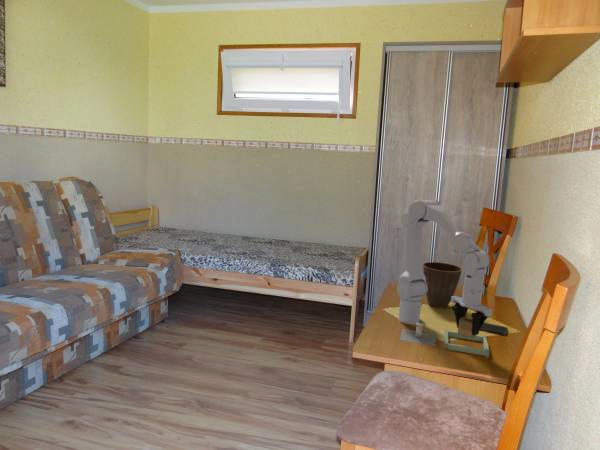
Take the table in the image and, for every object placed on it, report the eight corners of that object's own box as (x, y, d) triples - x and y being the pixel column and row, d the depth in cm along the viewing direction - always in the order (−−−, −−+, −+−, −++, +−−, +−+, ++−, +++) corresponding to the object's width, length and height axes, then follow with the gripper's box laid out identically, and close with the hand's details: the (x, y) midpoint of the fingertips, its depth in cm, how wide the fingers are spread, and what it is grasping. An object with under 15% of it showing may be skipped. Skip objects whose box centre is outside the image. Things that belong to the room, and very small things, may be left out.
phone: (506, 333, 168) (460, 324, 175) (505, 337, 168) (460, 327, 175) (507, 327, 175) (464, 318, 182) (507, 330, 175) (464, 321, 182)
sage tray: (444, 337, 163) (445, 330, 162) (484, 343, 160) (485, 336, 159) (444, 351, 151) (445, 343, 150) (488, 358, 148) (489, 350, 147)
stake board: (402, 331, 166) (403, 316, 165) (435, 336, 163) (437, 321, 162) (399, 342, 155) (401, 326, 154) (435, 348, 152) (437, 332, 151)
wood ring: (454, 332, 155) (455, 318, 155) (466, 330, 158) (468, 316, 157) (467, 338, 151) (469, 323, 150) (479, 336, 153) (481, 322, 153)
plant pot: (459, 313, 190) (465, 272, 188) (420, 308, 192) (425, 268, 190) (454, 302, 205) (458, 264, 202) (417, 297, 207) (421, 260, 204)
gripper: (446, 283, 157) (441, 324, 159) (482, 296, 144) (477, 341, 146) (461, 282, 160) (456, 322, 162) (499, 294, 148) (493, 338, 150)
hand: (467, 331), depth 154 cm, fingers closed on wood ring, 5 cm apart
